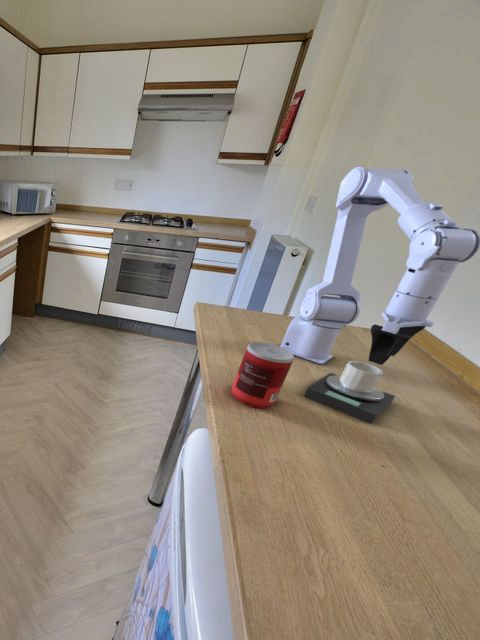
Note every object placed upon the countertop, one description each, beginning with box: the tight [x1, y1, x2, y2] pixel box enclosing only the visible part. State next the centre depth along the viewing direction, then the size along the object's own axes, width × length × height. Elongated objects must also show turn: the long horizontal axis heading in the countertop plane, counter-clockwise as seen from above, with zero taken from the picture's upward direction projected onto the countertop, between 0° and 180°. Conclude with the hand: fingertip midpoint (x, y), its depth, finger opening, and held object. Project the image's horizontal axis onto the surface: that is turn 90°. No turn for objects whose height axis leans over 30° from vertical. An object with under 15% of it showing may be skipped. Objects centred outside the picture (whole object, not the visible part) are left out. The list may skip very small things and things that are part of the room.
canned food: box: [231, 341, 295, 409], centre depth 82 cm, size 8×8×11 cm
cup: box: [340, 360, 384, 393], centre depth 83 cm, size 5×5×4 cm
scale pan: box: [326, 374, 384, 401], centre depth 84 cm, size 9×9×1 cm
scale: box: [303, 372, 396, 424], centre depth 84 cm, size 11×13×2 cm
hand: (381, 358), depth 82 cm, fingers open, 7 cm apart
